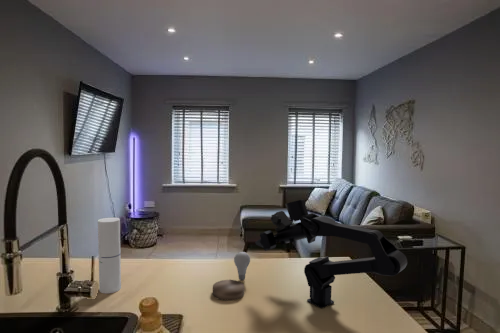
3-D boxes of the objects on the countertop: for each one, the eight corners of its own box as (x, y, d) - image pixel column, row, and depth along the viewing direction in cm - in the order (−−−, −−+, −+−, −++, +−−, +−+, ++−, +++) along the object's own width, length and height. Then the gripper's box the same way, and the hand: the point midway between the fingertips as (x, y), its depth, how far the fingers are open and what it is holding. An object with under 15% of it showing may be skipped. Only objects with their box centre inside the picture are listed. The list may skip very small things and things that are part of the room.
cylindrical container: (113, 294, 120) (112, 222, 118) (95, 292, 122) (93, 221, 120) (124, 285, 127) (123, 218, 125) (107, 283, 129) (105, 216, 127)
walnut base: (250, 294, 122) (250, 287, 121) (224, 303, 115) (224, 296, 115) (231, 283, 130) (232, 277, 130) (206, 291, 123) (206, 284, 123)
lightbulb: (250, 277, 136) (251, 249, 135) (248, 284, 130) (249, 255, 129) (235, 276, 137) (235, 249, 136) (232, 283, 131) (233, 254, 130)
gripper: (303, 206, 130) (273, 216, 140) (272, 213, 116) (240, 224, 126) (313, 235, 128) (281, 243, 138) (282, 246, 114) (249, 254, 124)
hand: (263, 240), depth 132 cm, fingers open, 9 cm apart
